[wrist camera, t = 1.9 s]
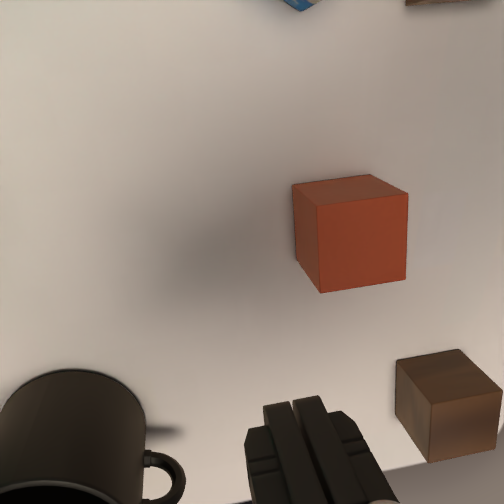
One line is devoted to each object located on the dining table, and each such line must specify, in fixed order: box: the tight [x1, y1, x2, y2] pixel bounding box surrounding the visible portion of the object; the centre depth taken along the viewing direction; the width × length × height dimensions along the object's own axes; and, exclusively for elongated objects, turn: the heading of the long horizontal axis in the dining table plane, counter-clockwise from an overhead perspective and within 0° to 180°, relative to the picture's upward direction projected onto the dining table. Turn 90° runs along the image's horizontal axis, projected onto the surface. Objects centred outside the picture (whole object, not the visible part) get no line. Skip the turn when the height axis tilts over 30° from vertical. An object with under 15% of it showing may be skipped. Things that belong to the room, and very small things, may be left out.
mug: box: [0, 371, 186, 504], centre depth 28 cm, size 9×12×9 cm
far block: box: [395, 349, 503, 463], centre depth 33 cm, size 5×5×5 cm
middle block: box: [292, 174, 408, 293], centre depth 27 cm, size 5×5×5 cm
